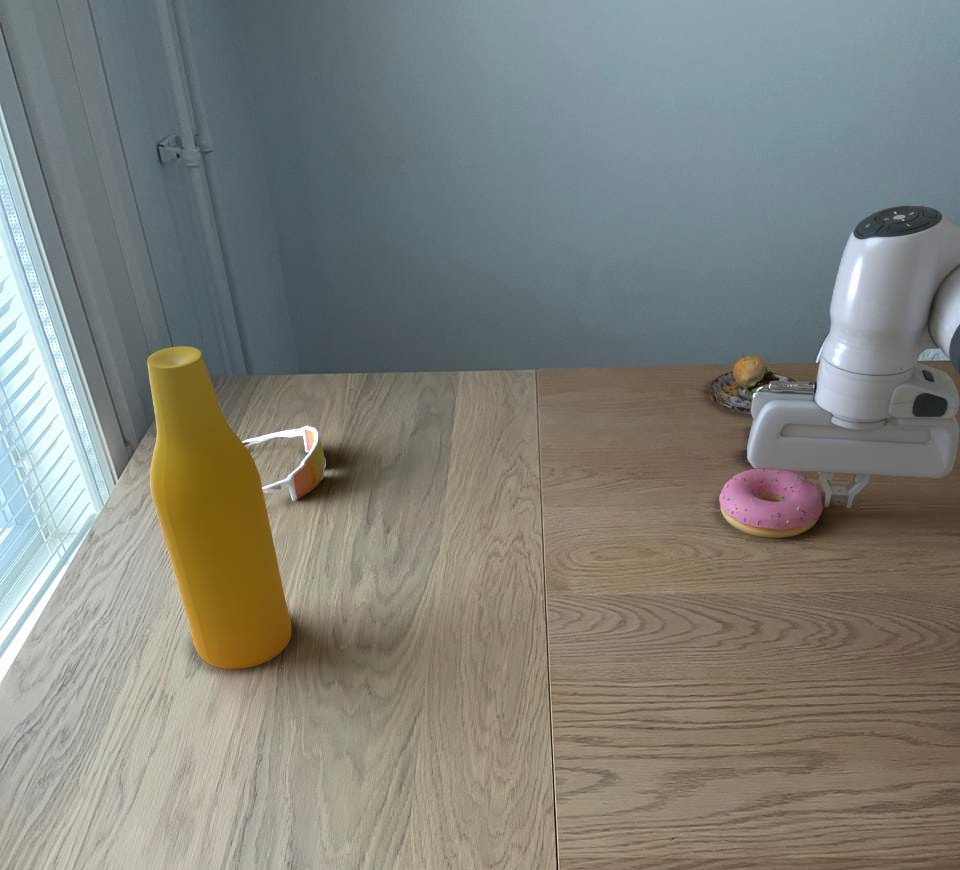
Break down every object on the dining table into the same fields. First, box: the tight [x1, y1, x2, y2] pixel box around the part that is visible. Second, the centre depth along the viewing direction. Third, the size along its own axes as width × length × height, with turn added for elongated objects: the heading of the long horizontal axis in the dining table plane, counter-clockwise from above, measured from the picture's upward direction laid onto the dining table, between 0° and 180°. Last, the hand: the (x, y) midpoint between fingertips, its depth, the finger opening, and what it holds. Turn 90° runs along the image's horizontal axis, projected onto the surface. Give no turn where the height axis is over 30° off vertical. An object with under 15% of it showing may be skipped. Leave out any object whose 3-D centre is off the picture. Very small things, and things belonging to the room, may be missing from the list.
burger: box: [709, 348, 797, 415], centre depth 128 cm, size 12×12×8 cm
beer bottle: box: [146, 345, 292, 670], centre depth 85 cm, size 9×9×29 cm
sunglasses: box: [242, 425, 327, 502], centre depth 118 cm, size 14×15×5 cm
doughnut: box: [718, 468, 824, 539], centre depth 107 cm, size 11×11×4 cm
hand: (836, 505), depth 105 cm, fingers closed
